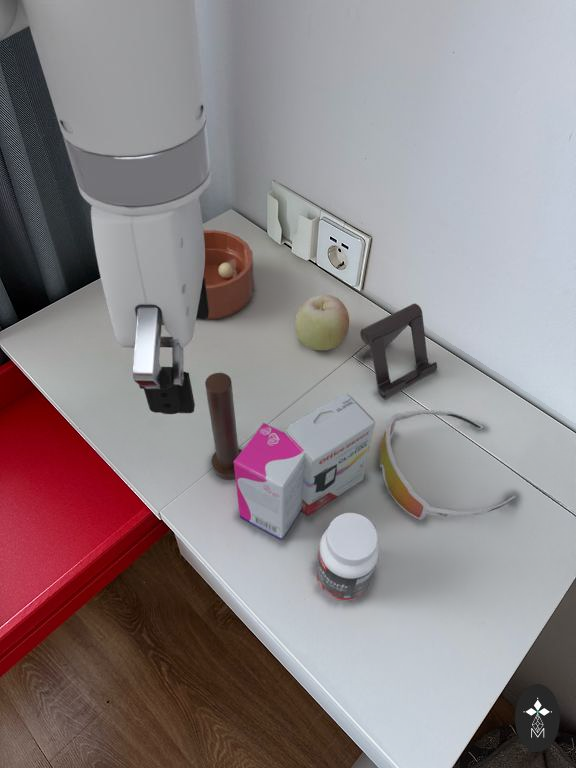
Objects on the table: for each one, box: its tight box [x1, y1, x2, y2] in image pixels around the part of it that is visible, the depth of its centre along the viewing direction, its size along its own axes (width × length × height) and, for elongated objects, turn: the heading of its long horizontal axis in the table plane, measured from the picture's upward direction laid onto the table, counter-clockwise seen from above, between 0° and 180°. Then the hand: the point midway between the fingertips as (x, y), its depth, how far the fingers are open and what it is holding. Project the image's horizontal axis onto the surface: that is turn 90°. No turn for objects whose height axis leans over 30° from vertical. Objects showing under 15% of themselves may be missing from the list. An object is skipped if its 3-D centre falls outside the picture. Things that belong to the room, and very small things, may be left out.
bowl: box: [203, 229, 255, 321], centre depth 85 cm, size 13×13×6 cm
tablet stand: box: [359, 302, 438, 400], centre depth 75 cm, size 9×8×8 cm
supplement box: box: [234, 422, 305, 541], centre depth 60 cm, size 6×6×12 cm
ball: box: [218, 263, 234, 279], centre depth 88 cm, size 2×2×2 cm
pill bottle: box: [315, 512, 380, 602], centre depth 56 cm, size 6×6×10 cm
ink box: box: [284, 393, 376, 517], centre depth 63 cm, size 9×5×12 cm, turn 126°
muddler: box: [204, 372, 242, 481], centre depth 63 cm, size 4×4×16 cm
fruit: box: [294, 294, 350, 351], centre depth 79 cm, size 8×7×8 cm
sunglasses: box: [379, 409, 516, 521], centre depth 67 cm, size 14×15×5 cm
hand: (182, 359), depth 45 cm, fingers open, 9 cm apart
